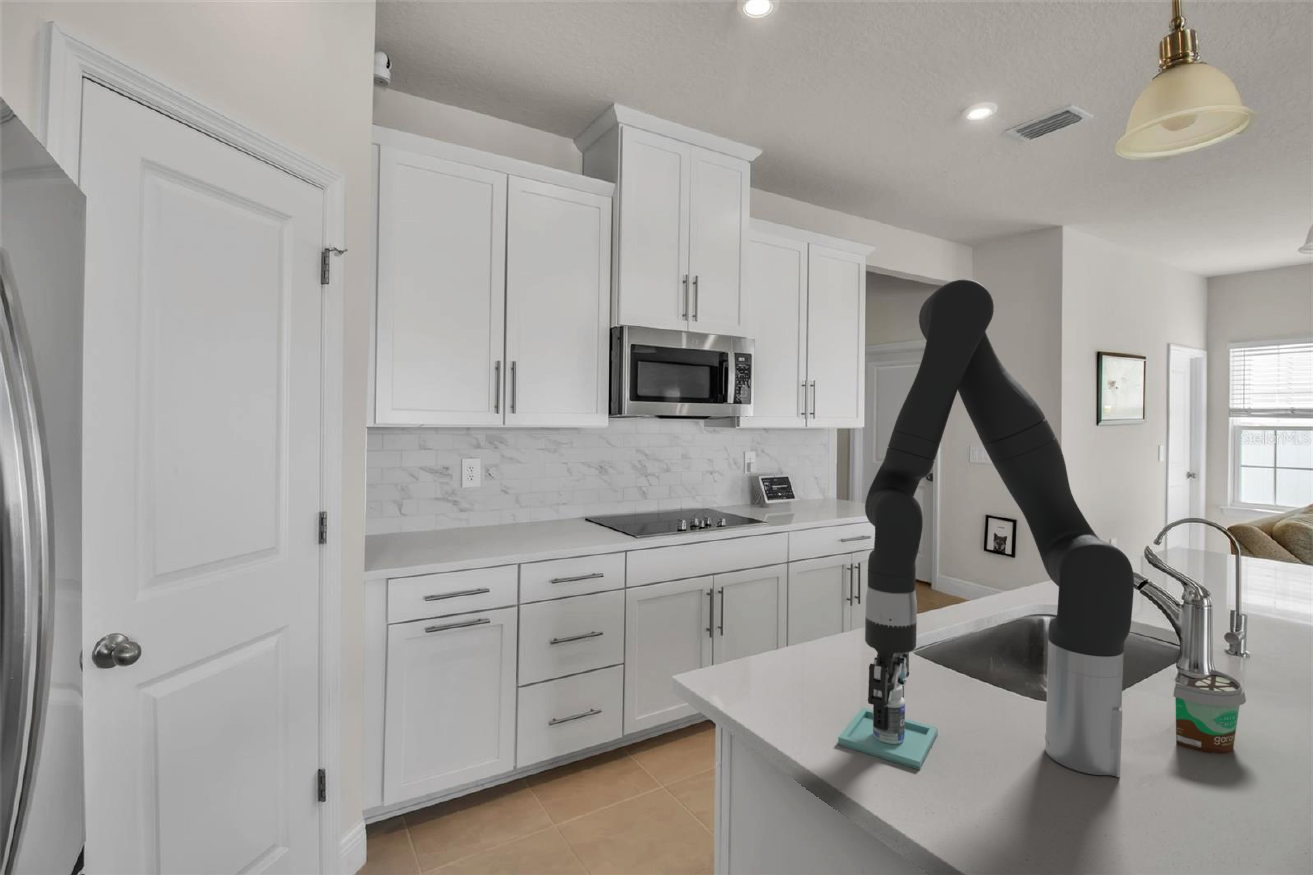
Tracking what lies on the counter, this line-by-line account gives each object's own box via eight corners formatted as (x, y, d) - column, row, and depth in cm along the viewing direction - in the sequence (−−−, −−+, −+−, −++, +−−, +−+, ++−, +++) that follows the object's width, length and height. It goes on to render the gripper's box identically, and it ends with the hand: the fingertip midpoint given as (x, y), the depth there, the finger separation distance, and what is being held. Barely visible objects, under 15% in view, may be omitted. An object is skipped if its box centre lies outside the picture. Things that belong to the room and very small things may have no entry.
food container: (1221, 766, 92) (1224, 699, 92) (1171, 746, 98) (1173, 683, 97) (1258, 746, 98) (1261, 682, 97) (1209, 728, 103) (1212, 668, 103)
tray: (937, 735, 101) (937, 727, 101) (919, 770, 91) (920, 761, 91) (862, 714, 108) (862, 707, 108) (838, 744, 98) (838, 737, 98)
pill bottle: (907, 746, 97) (907, 692, 97) (874, 743, 98) (875, 689, 98) (901, 731, 102) (902, 679, 101) (871, 728, 103) (871, 677, 102)
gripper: (904, 634, 91) (902, 744, 92) (926, 608, 102) (924, 706, 103) (852, 623, 95) (850, 729, 96) (879, 600, 107) (877, 694, 108)
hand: (889, 717), depth 100 cm, fingers open, 8 cm apart
